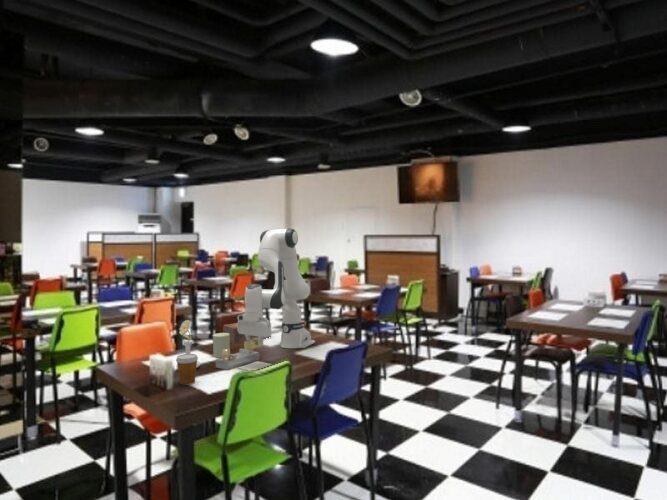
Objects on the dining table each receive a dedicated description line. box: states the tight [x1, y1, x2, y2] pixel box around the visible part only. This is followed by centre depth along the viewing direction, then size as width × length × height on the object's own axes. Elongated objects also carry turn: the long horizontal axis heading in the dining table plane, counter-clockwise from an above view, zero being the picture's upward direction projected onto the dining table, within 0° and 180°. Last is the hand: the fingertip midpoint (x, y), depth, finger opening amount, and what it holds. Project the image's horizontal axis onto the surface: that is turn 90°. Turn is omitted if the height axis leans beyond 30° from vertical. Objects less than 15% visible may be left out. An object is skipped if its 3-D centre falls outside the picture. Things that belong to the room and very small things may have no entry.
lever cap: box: [245, 338, 264, 349], centre depth 232 cm, size 8×5×4 cm, turn 145°
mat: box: [237, 360, 273, 372], centre depth 233 cm, size 14×10×1 cm
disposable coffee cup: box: [175, 353, 199, 386], centre depth 210 cm, size 10×10×12 cm
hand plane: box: [215, 342, 260, 371], centre depth 240 cm, size 22×9×10 cm, turn 146°
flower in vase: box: [176, 319, 201, 369], centre depth 231 cm, size 13×11×25 cm
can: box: [212, 332, 231, 358], centre depth 257 cm, size 9×9×12 cm
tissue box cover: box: [222, 322, 272, 345], centre depth 296 cm, size 26×14×10 cm, turn 128°
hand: (254, 344), depth 232 cm, fingers closed on lever cap, 5 cm apart
